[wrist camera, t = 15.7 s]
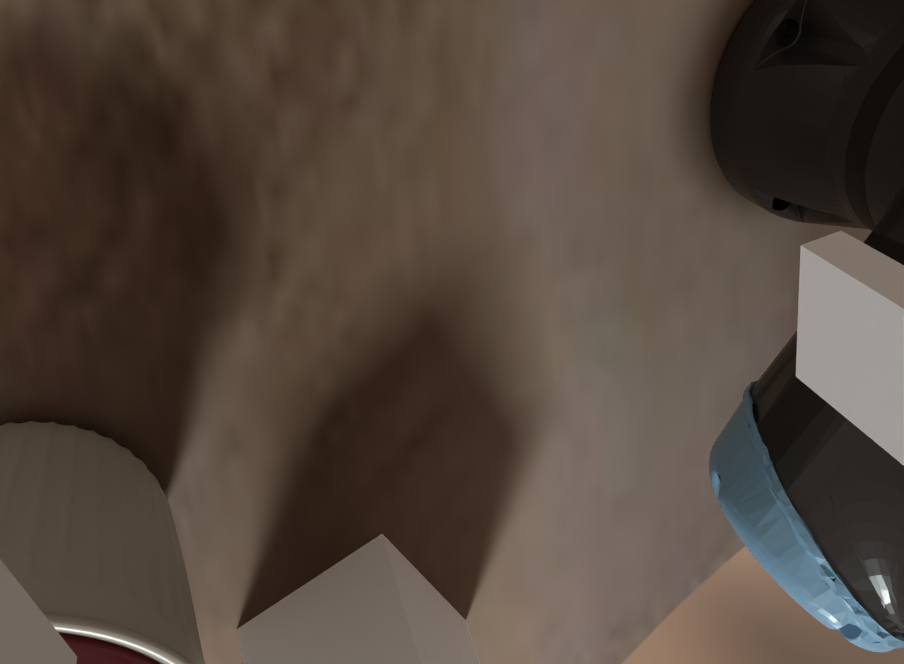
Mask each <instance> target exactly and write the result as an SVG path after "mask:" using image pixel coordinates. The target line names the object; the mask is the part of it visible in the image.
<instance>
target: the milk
mask: <svg viewBox="0 0 904 664" xmlns="http://www.w3.org/2000/svg"><path fill="white" fill-rule="evenodd" d="M237 634H238V640H239V646H240V652H241V658H242V664H480V661H479V658H478V655H477V652H476V649H475V646H474V643H473V640H472V637H471V634H470V631H469V628H468V625H467V622H466V620H465V619H464V618H463V617H462V616H461V615H460V614H459V613H458V612H457V611H456V610H455V609H454V608H453V606H452V605H451V604H450V603H449V602H448V601H447V600H446V599H445V598H444V597H443V596H442V595H441V594H440V593H439V592H438V591H437V590H436V589H435V588H434V587H433V586H432V585H431V584H430V583H429V582H428V581H427V580H426V579H425V577H424V576H423V575H422V574H421V573H420V572H419V571H418V570H417V569H416V568H415V567H414V566H413V565H412V564H411V563H410V562H409V561H408V560H407V559H406V558H405V557H404V556H403V555H402V554H401V553H400V552H399V551H398V549H397V548H396V547H395V546H394V545H393V544H392V543H391V542H390V541H389V540H388V539H387V538H386V537H385V536H384V535H383V534H381V535H379V536H378V537H376V538H375V539H373V540H372V541H370V542H369V543H367V544H365V545H364V546H362V547H361V548H359V549H358V550H356V551H355V552H353V553H352V554H350V555H349V556H347V557H346V558H344V559H343V560H341V561H340V562H338V563H337V564H335V565H334V566H332V567H330V568H329V569H327V570H326V571H324V572H323V573H321V574H320V575H318V576H317V577H315V578H314V579H312V580H311V581H309V582H308V583H306V584H305V585H303V586H302V587H300V588H299V589H297V590H295V591H294V592H292V593H291V594H289V595H288V596H286V597H285V598H283V599H282V600H280V601H279V602H277V603H276V604H274V605H273V606H271V607H270V608H268V609H267V610H265V611H264V612H262V613H260V614H259V615H257V616H256V617H254V618H253V619H251V620H250V621H248V622H247V623H245V624H244V625H242V626H241V627H239V628H238V629H237Z"/></svg>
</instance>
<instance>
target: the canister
mask: <svg viewBox="0 0 904 664" xmlns="http://www.w3.org/2000/svg"><path fill="white" fill-rule="evenodd" d="M0 559H1V561H2V562H3V563H4V564H5V566H6V567H7V568H8V569H9V571H10V572H11V573H12V574H13V576H14V577H15V578H16V580H17V581H18V582H19V583H20V585H21V586H22V587H23V588H24V590H25V591H26V592H27V594H28V595H29V596H30V597H31V599H32V600H33V601H34V602H35V604H36V605H37V606H38V608H39V609H40V610H41V611H42V613H43V614H44V615H45V616H46V618H47V619H48V620H49V622H50V623H51V624H52V625H53V627H54V628H55V629H56V630H57V632H58V633H59V634H60V635H61V637H62V638H63V639H64V641H65V642H66V643H67V644H68V646H69V647H70V648H71V649H72V651H73V652H74V653H75V655H76V656H77V664H205V662H204V657H203V652H202V648H201V643H200V638H199V633H198V628H197V623H196V618H195V613H194V607H193V602H192V597H191V592H190V587H189V583H188V578H187V573H186V568H185V564H184V560H183V556H182V551H181V547H180V543H179V539H178V535H177V531H176V527H175V523H174V519H173V516H172V513H171V509H170V506H169V502H168V500H167V497H166V495H165V493H164V492H163V490H162V489H161V487H160V484H159V482H158V480H157V479H156V477H155V476H154V475H153V474H152V473H151V472H150V471H148V468H147V467H146V465H145V463H144V462H143V461H142V460H140V459H138V458H136V457H135V456H133V454H132V452H131V451H130V450H129V449H127V448H125V447H122V446H120V445H118V444H117V443H116V442H115V441H114V440H113V439H111V438H106V437H103V436H100V435H98V434H97V433H96V432H95V431H92V430H90V431H89V430H84V429H81V428H78V427H76V426H74V425H61V424H57V423H55V422H49V423H39V422H34V421H29V422H26V423H11V422H9V423H6V424H4V425H1V426H0Z"/></svg>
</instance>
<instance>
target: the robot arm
mask: <svg viewBox="0 0 904 664" xmlns="http://www.w3.org/2000/svg"><path fill="white" fill-rule="evenodd" d="M711 136H712V143H713V147H714V152H715V155H716V158H717V161H718V163H719V166H720V168H721V170H722V172H723V174H724V175H725V177H726V178H727V180H728V181H729V183H730V184H731V185H732V186H733V187H734V188H735V189H736V190H737V191H738V192H739V193H740V194H741V195H742V196H744V197H745V198H747V199H748V200H750V201H751V202H753V203H755V204H757V205H758V206H760V207H762V208H763V209H765V210H767V211H769V212H770V213H772V214H774V215H777V216H779V217H782V218H785V219H789V220H792V221H798V222H805V223H815V224H824V225H834V226H843V227H853V228H862V229H870V230H872V232H871V234H870V235H869V236H868V238H867V239H866V240H865V242H864V243H863V242H861V241H859V240H857V239H856V238H854V237H852V236H850V235H848V234H847V233H845V232H843V231H839V232H836V233H833V234H831V235H828V236H825V237H822V238H820V239H817V240H814V241H811V242H809V243H806V244H803V245H801V253H800V278H799V303H798V329H797V331H796V332H795V334H794V335H793V336H792V337H791V339H790V340H789V341H788V343H787V344H786V345H785V347H784V348H783V349H782V350H781V352H780V353H779V354H778V356H777V357H776V358H775V359H774V361H773V362H772V363H771V365H770V366H769V367H768V368H767V370H766V371H765V372H764V374H763V375H762V376H761V378H760V379H759V380H758V381H756V382H751V383H750V384H749V386H748V387H747V388H746V389H745V391H744V394H743V401H742V403H741V404H740V405H739V407H738V408H737V410H736V411H735V413H734V414H733V416H732V417H731V419H730V420H729V422H728V423H727V425H726V426H725V428H724V429H723V431H722V432H721V434H720V435H719V437H718V438H717V440H716V441H715V443H714V445H713V447H712V450H711V453H710V459H709V473H710V479H711V483H712V487H713V490H714V492H715V494H716V496H717V499H718V500H719V502H720V507H721V509H722V511H723V512H724V514H725V516H726V518H727V519H728V521H729V523H730V524H731V526H732V527H733V529H734V531H735V532H736V534H737V535H738V536H739V538H740V539H741V541H742V542H743V543H744V545H745V546H746V547H747V548H748V550H749V551H750V552H751V554H752V555H753V556H754V557H755V559H756V560H757V561H758V562H759V563H760V564H761V566H762V567H763V568H764V569H765V570H766V571H767V572H768V574H769V575H770V576H771V577H772V578H773V579H774V580H775V581H776V582H777V583H778V584H779V585H780V586H781V587H782V588H783V589H784V590H785V591H786V592H787V593H788V594H789V595H790V596H791V597H792V598H793V599H794V600H795V601H796V602H797V603H798V604H799V605H800V606H802V607H803V608H804V609H805V610H806V611H807V612H808V613H810V614H811V615H812V616H813V617H814V618H816V619H817V620H818V621H820V622H821V623H822V624H824V625H825V626H827V627H828V628H830V629H837V630H838V631H839V632H840V633H841V634H842V635H843V636H844V637H845V638H846V639H847V640H848V641H849V642H851V643H853V644H855V645H857V646H859V647H861V648H863V649H866V650H870V651H873V652H888V651H890V650H892V649H894V648H902V647H904V0H756V1H755V2H754V3H753V4H752V6H751V7H750V8H749V10H748V11H747V13H746V14H745V16H744V17H743V19H742V20H741V22H740V24H739V25H738V27H737V29H736V30H735V32H734V34H733V36H732V38H731V40H730V42H729V44H728V47H727V49H726V51H725V53H724V56H723V59H722V61H721V64H720V67H719V70H718V73H717V77H716V81H715V85H714V90H713V96H712V103H711ZM0 664H77V656H76V655H75V653H74V652H73V651H72V649H71V648H70V647H69V646H68V644H67V643H66V642H65V641H64V639H63V638H62V637H61V635H60V634H59V633H58V632H57V630H56V629H55V628H54V627H53V625H52V624H51V623H50V622H49V620H48V619H47V618H46V616H45V615H44V614H43V613H42V611H41V610H40V609H39V608H38V606H37V605H36V604H35V602H34V601H33V600H32V599H31V597H30V596H29V595H28V594H27V592H26V591H25V590H24V588H23V587H22V586H21V585H20V583H19V582H18V581H17V580H16V578H15V577H14V576H13V574H12V573H11V572H10V571H9V569H8V568H7V567H6V566H5V564H4V563H3V562H2V561H1V559H0Z"/></svg>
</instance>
